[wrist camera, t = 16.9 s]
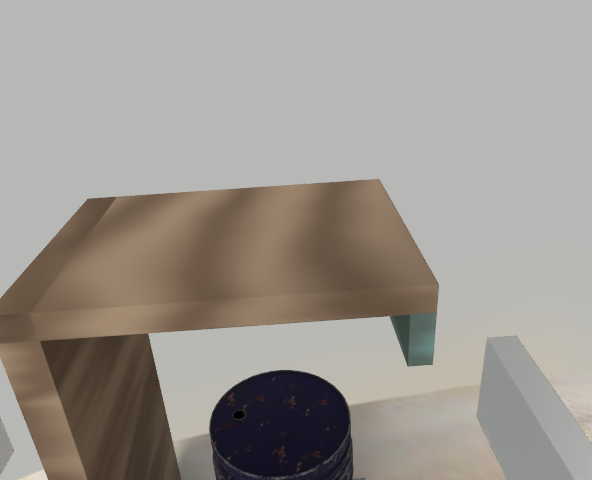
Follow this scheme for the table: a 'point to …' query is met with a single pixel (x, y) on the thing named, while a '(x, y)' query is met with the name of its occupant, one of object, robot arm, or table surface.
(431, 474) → the table surface
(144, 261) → the wooden gallows frame
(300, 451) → the rusty oil drum
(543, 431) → the robot arm
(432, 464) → the table surface
